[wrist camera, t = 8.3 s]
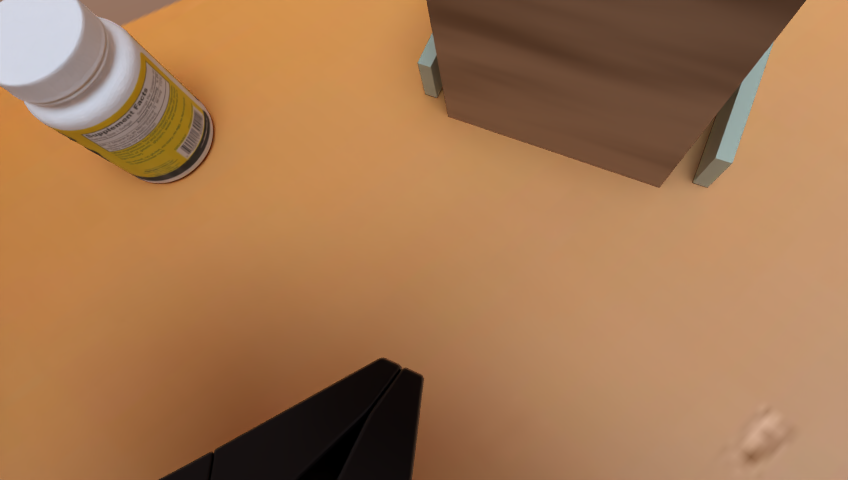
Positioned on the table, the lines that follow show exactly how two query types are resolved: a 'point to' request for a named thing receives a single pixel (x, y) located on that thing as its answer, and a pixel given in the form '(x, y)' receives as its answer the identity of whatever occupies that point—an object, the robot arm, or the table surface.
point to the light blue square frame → (721, 135)
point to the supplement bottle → (101, 89)
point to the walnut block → (601, 72)
